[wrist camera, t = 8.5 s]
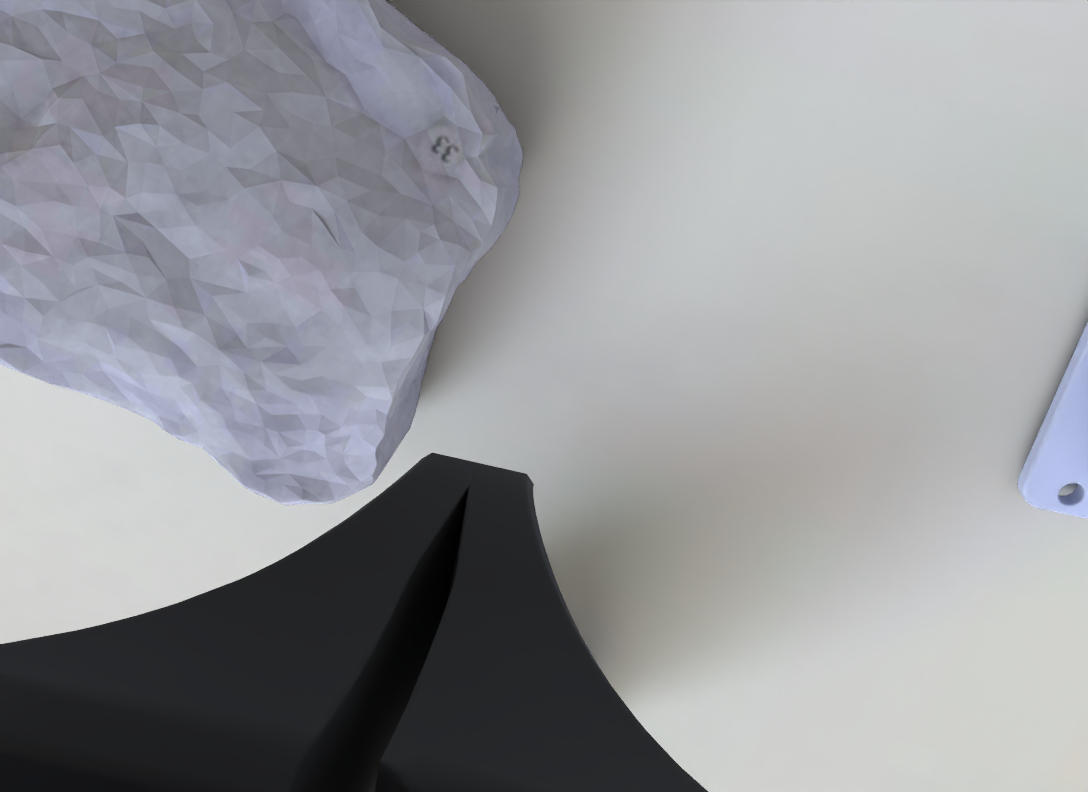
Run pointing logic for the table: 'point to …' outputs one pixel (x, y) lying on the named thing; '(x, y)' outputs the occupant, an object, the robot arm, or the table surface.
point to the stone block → (243, 220)
